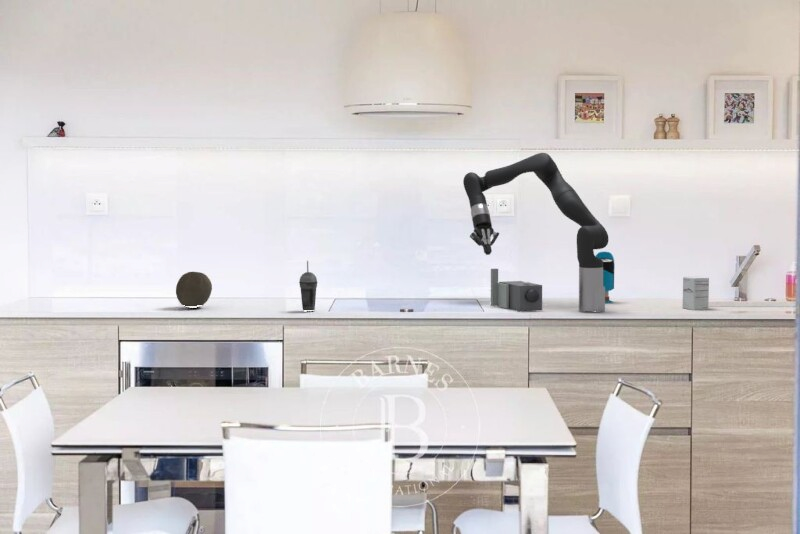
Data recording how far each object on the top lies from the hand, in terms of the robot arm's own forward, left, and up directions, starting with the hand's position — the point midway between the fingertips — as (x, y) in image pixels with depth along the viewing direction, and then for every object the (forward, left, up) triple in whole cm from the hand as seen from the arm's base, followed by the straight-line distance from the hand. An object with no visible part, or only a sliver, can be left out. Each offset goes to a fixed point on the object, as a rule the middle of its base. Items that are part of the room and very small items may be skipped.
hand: (488, 253), depth 424 cm
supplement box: (-75, -34, -21) cm, 85 cm away
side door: (-9, +7, -21) cm, 24 cm away
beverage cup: (+46, +59, -21) cm, 78 cm away
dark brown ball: (+92, +77, -21) cm, 122 cm away
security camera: (-35, -35, -21) cm, 54 cm away
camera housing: (-18, +4, -21) cm, 28 cm away
